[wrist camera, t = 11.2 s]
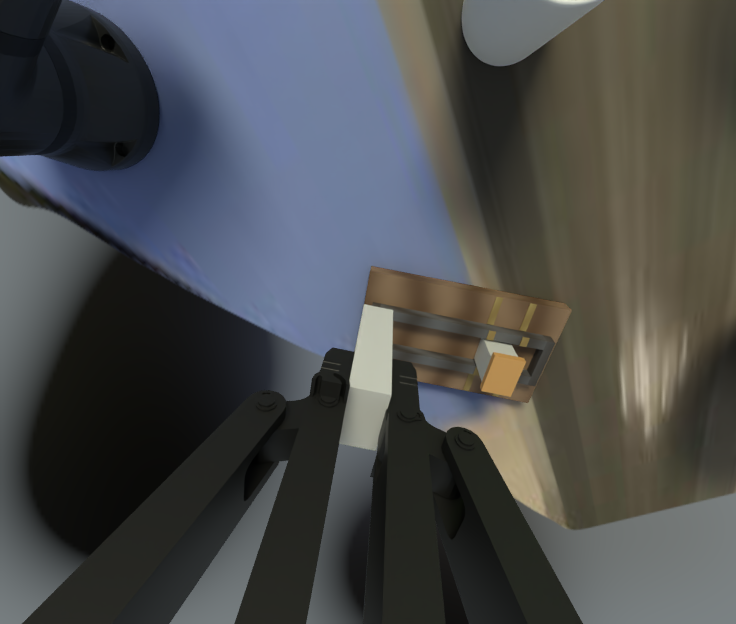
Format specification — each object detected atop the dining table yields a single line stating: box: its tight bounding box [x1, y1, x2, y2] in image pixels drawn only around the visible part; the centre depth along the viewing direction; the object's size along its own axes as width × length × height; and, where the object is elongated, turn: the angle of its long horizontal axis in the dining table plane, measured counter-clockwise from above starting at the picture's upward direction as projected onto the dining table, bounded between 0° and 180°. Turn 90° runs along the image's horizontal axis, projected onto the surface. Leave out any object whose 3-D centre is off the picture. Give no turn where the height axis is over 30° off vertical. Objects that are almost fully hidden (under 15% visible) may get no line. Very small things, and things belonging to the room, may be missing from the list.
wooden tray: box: [364, 266, 572, 403], centre depth 44 cm, size 24×14×4 cm, turn 80°
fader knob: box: [474, 338, 526, 397], centre depth 41 cm, size 3×5×6 cm
